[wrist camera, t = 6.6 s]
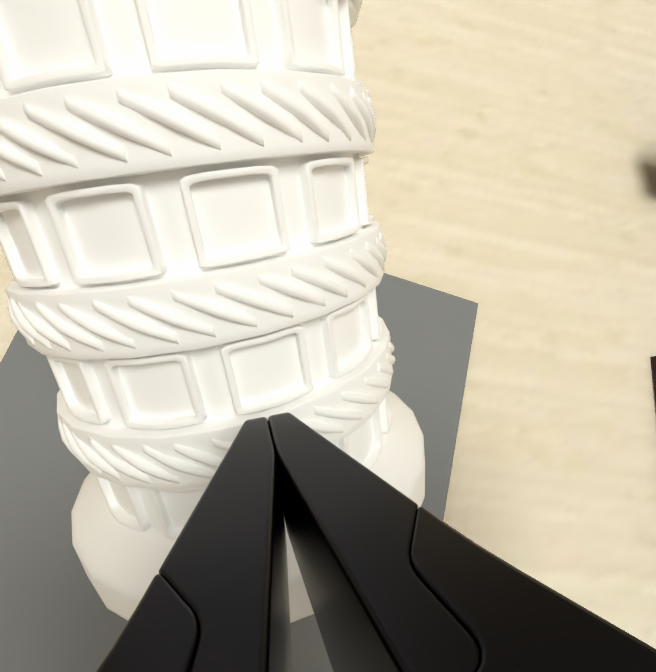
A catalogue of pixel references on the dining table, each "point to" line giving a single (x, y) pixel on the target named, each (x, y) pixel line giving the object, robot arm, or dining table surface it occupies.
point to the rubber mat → (69, 473)
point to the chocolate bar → (654, 376)
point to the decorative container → (193, 252)
